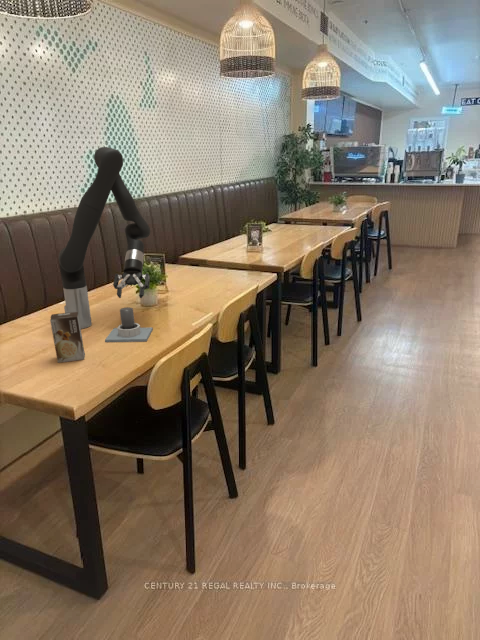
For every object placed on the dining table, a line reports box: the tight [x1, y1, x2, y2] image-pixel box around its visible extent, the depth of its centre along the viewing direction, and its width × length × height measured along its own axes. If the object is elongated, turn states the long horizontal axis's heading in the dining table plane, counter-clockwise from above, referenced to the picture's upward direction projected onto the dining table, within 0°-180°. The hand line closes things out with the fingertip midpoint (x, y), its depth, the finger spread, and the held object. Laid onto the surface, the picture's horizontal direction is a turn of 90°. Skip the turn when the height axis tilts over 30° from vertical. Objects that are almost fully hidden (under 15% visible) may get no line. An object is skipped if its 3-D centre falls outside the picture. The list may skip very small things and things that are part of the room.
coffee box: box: [49, 312, 86, 364], centre depth 162 cm, size 9×6×16 cm
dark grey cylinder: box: [119, 306, 136, 329], centre depth 182 cm, size 5×5×10 cm
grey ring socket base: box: [104, 322, 154, 343], centre depth 183 cm, size 16×13×4 cm
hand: (130, 297), depth 186 cm, fingers open, 8 cm apart
